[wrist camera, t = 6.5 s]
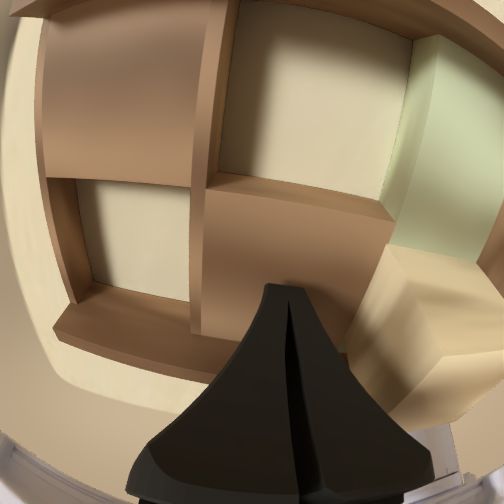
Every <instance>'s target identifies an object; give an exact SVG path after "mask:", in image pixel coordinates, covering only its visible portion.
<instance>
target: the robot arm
mask: <svg viewBox="0 0 504 504" xmlns="http://www.w3.org/2000/svg"><path fill="white" fill-rule="evenodd" d="M458 471H459V465H458V459H457V454H456V450H455V445H454V441H453V436H452V432H451V428H450V425H449V423H447V424H443V425H438V426H434V427H430V428H425V429H420V430H415V431H409V432H406V431H405V430H403V429H402V428H401V427H400V426H399V425H398V424H397V423H396V422H395V421H394V420H393V419H392V418H391V417H390V416H389V415H388V414H387V413H386V412H385V411H384V410H383V409H382V408H381V407H380V406H379V405H378V404H377V402H376V401H375V400H374V399H373V398H372V397H371V396H370V395H369V394H368V392H367V391H366V390H365V389H364V387H363V386H362V385H361V384H360V382H359V381H358V380H357V378H356V377H355V376H354V374H353V373H352V372H351V370H350V369H349V367H348V366H347V365H346V363H345V362H344V360H343V359H342V357H341V355H340V354H339V352H338V351H337V349H336V348H335V346H334V344H333V343H332V341H331V339H330V337H329V336H328V334H327V332H326V330H325V328H324V327H323V325H322V323H321V321H320V319H319V317H318V315H317V313H316V311H315V309H314V307H313V305H312V303H311V301H310V299H309V297H308V295H307V293H306V291H305V289H304V288H301V287H294V286H287V285H280V284H273V283H267V284H265V285H264V290H263V295H262V300H261V303H260V305H259V308H258V310H257V313H256V315H255V317H254V319H253V321H252V323H251V325H250V327H249V329H248V330H247V332H246V334H245V336H244V337H243V339H242V341H241V342H240V344H239V346H238V347H237V349H236V350H235V352H234V353H233V355H232V356H231V358H230V359H229V360H228V362H227V363H226V364H225V366H224V367H223V368H222V370H221V371H220V372H219V373H218V375H217V376H216V377H215V378H214V380H213V381H212V382H211V383H210V384H209V386H208V387H207V388H206V389H205V390H204V391H203V392H202V393H201V395H200V396H199V397H198V398H197V399H196V400H195V401H194V402H193V403H192V404H191V405H190V406H189V407H188V408H187V409H186V410H185V411H184V412H183V413H182V414H181V415H180V416H178V417H177V418H176V419H175V420H174V421H173V422H172V423H171V424H169V425H168V426H167V427H166V428H165V429H163V430H162V431H161V432H160V433H159V434H157V435H156V436H155V437H154V438H152V439H151V440H150V441H149V442H148V443H147V445H146V446H145V447H144V449H143V450H142V451H141V453H140V454H139V456H138V457H137V459H136V461H135V462H134V464H133V466H132V469H131V471H130V474H129V477H128V481H127V485H126V489H125V491H126V492H127V494H130V495H133V496H135V497H138V498H140V499H139V504H504V465H502V466H500V467H499V468H497V469H495V470H494V471H492V472H490V473H488V474H487V475H485V476H482V477H480V478H478V479H476V476H475V475H474V474H470V472H467V473H465V474H463V476H464V486H463V482H462V475H461V472H458ZM0 504H133V503H130V502H127V501H125V500H122V499H119V498H116V497H114V496H112V495H109V494H107V493H104V492H102V491H100V490H97V489H95V488H93V487H91V486H89V485H86V484H84V483H82V482H80V481H78V480H76V479H74V478H72V477H70V476H69V475H67V474H65V473H63V472H61V471H59V470H57V469H56V468H54V467H52V466H51V465H49V464H47V463H46V462H44V461H42V460H41V459H39V458H38V457H37V456H36V455H35V454H33V453H32V452H30V451H29V450H27V449H26V448H24V447H23V446H22V445H20V444H19V443H18V442H16V441H15V440H13V439H12V438H10V437H9V436H8V435H6V434H4V433H3V432H2V431H1V430H0Z"/></svg>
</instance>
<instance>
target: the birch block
mask: <svg viewBox="0 0 504 504" xmlns="http://www.w3.org/2000/svg"><path fill="white" fill-rule="evenodd" d="M344 341H345V346H346V351H347V357H348V363H349V368H350V370H351V372H352V373H353V374H354V376H355V377H356V378H357V380H358V381H359V382H360V384H361V385H362V386H363V387H364V389H365V390H366V391H367V392H368V394H369V395H370V396H371V397H372V398H373V399H374V400H375V401H376V402H377V404H378V405H379V406H380V407H381V408H382V409H383V410H384V411H385V412H386V413H387V414H388V415H389V416H390V417H391V418H392V419H393V420H394V421H395V422H396V423H397V424H398V425H399V426H400V427H401V428H402V429H403V430H405V431H406V432H409V431H415V430H420V429H425V428H430V427H434V426H438V425H443V424H447V423H451V422H454V421H456V420H458V419H459V418H460V417H461V416H463V415H464V414H465V413H466V412H467V411H469V410H470V409H471V408H472V407H473V406H475V404H477V403H478V402H479V401H480V400H481V399H483V398H484V397H485V396H486V395H487V394H488V393H489V392H490V391H491V390H492V389H493V388H494V387H495V386H496V385H497V384H498V383H499V382H500V381H501V380H502V379H503V378H504V299H503V297H502V296H501V295H500V293H499V292H498V290H497V289H496V288H495V286H494V285H493V284H492V282H491V281H490V280H489V278H488V277H487V276H486V275H485V273H484V272H483V271H482V270H481V268H480V267H479V266H478V265H477V263H476V262H474V261H469V260H464V259H460V258H455V257H450V256H445V255H440V254H435V253H430V252H425V251H420V250H415V249H410V248H405V247H399V246H394V245H389V244H386V246H385V249H384V251H383V254H382V256H381V259H380V261H379V263H378V266H377V268H376V271H375V273H374V275H373V278H372V280H371V282H370V284H369V287H368V289H367V291H366V293H365V295H364V298H363V300H362V302H361V304H360V306H359V308H358V310H357V312H356V314H355V316H354V319H353V321H352V323H351V325H350V326H349V328H348V330H347V332H346V334H345V336H344Z"/></svg>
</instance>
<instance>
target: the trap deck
mask: <svg viewBox="0 0 504 504" xmlns="http://www.w3.org/2000/svg"><path fill="white" fill-rule="evenodd" d="M260 1H270V2H278V3H286V4H292V5H298V6H304V7H309V8H314V9H319V10H323V11H328V12H332V13H336V14H340V15H343V16H347V17H350V18H354V19H357V20H360V21H363V22H367V23H370V24H372V25H375V26H378V27H381V28H384V29H386V30H389V31H391V32H394V33H396V34H399V35H401V36H404V37H406V38H408V39H411V40H413V47H412V56H411V63H410V70H409V77H408V83H407V89H406V94H405V100H404V105H403V110H402V115H401V119H400V124H399V128H398V133H397V137H396V141H395V145H394V149H393V153H392V157H391V161H390V164H389V168H388V172H387V175H386V179H385V182H384V185H383V189H382V192H381V195H380V199H379V201H377V200H372V199H368V198H364V197H360V196H355V195H351V194H346V193H341V192H337V191H332V190H327V189H322V188H317V187H312V186H306V185H301V184H295V183H290V182H284V181H278V180H271V179H265V178H259V177H252V176H245V175H237V174H230V173H222V172H218V165H219V155H220V145H221V135H222V126H223V117H224V108H225V100H226V92H227V84H228V77H229V69H230V62H231V55H232V48H233V42H234V35H235V29H236V23H237V17H238V11H239V5H240V0H13V2H12V6H11V9H10V13H9V16H16V17H17V16H18V17H35V18H44V19H43V24H42V29H41V35H40V41H39V48H38V56H37V65H36V77H35V99H34V121H35V143H36V156H37V165H38V174H39V181H40V188H41V194H42V200H43V206H44V211H45V216H46V221H47V225H48V230H49V234H50V238H51V242H52V246H53V250H54V253H55V257H56V260H57V264H58V267H59V270H60V273H61V277H62V280H63V283H64V286H65V289H66V291H67V294H68V297H69V300H70V304H69V305H68V306H67V308H66V309H65V311H64V312H63V313H62V315H61V316H60V318H59V319H58V321H57V322H56V323H55V325H54V326H53V330H54V332H55V334H56V336H57V338H58V340H59V341H61V342H64V343H66V344H69V345H71V346H74V347H77V348H79V349H82V350H85V351H87V352H90V353H93V354H96V355H99V356H101V357H104V358H107V359H110V360H114V361H117V362H120V363H123V364H126V365H130V366H133V367H137V368H140V369H144V370H148V371H151V372H155V373H159V374H163V375H167V376H172V377H176V378H180V379H185V380H190V381H195V382H200V383H205V384H210V383H211V382H212V381H213V380H214V378H215V377H216V376H217V375H218V373H219V372H220V371H221V370H222V368H223V367H224V366H225V364H226V363H227V362H228V360H229V359H230V358H231V356H232V355H233V353H234V352H235V350H236V349H237V347H238V346H239V344H240V342H241V341H242V339H243V337H244V336H245V334H246V332H247V330H248V329H249V327H250V325H251V323H252V321H253V319H254V317H255V315H256V313H257V310H258V308H259V305H260V303H261V300H262V295H263V290H264V285H265V284H267V283H273V284H280V285H287V286H294V287H301V288H304V289H305V291H306V293H307V295H308V297H309V299H310V301H311V303H312V305H313V307H314V309H315V311H316V313H317V315H318V317H319V319H320V321H321V323H322V325H323V327H324V328H325V330H326V332H327V334H328V336H329V337H330V339H331V341H332V343H333V344H334V346H335V348H336V349H337V351H338V352H339V354H340V355H341V357H342V359H343V360H344V362H345V363H346V365H347V366H348V367H349V363H348V357H347V351H346V346H345V341H344V336H345V334H346V332H347V330H348V328H349V326H350V325H351V323H352V321H353V319H354V316H355V314H356V312H357V310H358V308H359V306H360V304H361V302H362V300H363V298H364V295H365V293H366V291H367V289H368V287H369V284H370V282H371V280H372V278H373V275H374V273H375V271H376V268H377V266H378V263H379V261H380V259H381V256H382V254H383V251H384V249H385V246H386V244H389V245H394V246H399V247H405V248H410V249H415V250H420V251H425V252H430V253H435V254H440V255H445V256H450V257H455V258H460V259H464V260H469V261H474V262H476V263H477V265H478V266H479V267H480V268H481V270H482V271H483V272H484V273H485V275H486V276H487V277H488V278H489V280H490V281H491V282H492V284H493V285H494V286H495V288H496V289H497V290H498V292H499V293H500V295H501V296H502V297H503V299H504V24H503V23H502V22H500V21H499V20H498V19H497V18H496V17H494V16H493V15H492V14H491V13H489V12H488V11H487V10H485V9H484V8H483V7H481V6H480V5H479V4H477V3H476V2H474V1H473V0H260ZM75 178H81V179H100V180H116V181H129V182H141V183H153V184H163V185H173V186H182V187H191V191H190V222H189V298H190V303H189V302H184V301H178V300H173V299H168V298H163V297H158V296H153V295H149V294H144V293H139V292H135V291H130V290H126V289H121V288H117V287H113V286H109V285H104V284H100V283H96V282H94V281H93V277H92V273H91V269H90V265H89V260H88V256H87V251H86V247H85V242H84V237H83V232H82V226H81V220H80V214H79V208H78V201H77V193H76V185H75ZM349 369H350V368H349Z"/></svg>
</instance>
